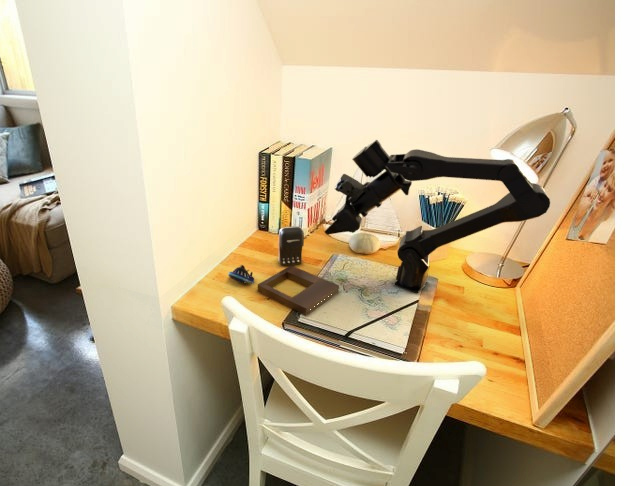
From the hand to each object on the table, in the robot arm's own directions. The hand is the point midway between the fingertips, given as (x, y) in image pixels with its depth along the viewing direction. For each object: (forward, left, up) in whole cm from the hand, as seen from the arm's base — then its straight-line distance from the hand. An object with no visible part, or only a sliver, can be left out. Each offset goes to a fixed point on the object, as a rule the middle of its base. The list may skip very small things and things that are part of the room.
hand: (329, 226), depth 107 cm
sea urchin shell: (-1, -19, -14) cm, 23 cm away
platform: (-1, +14, -14) cm, 20 cm away
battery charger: (+10, +4, -14) cm, 17 cm away
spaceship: (+14, +20, -14) cm, 28 cm away
